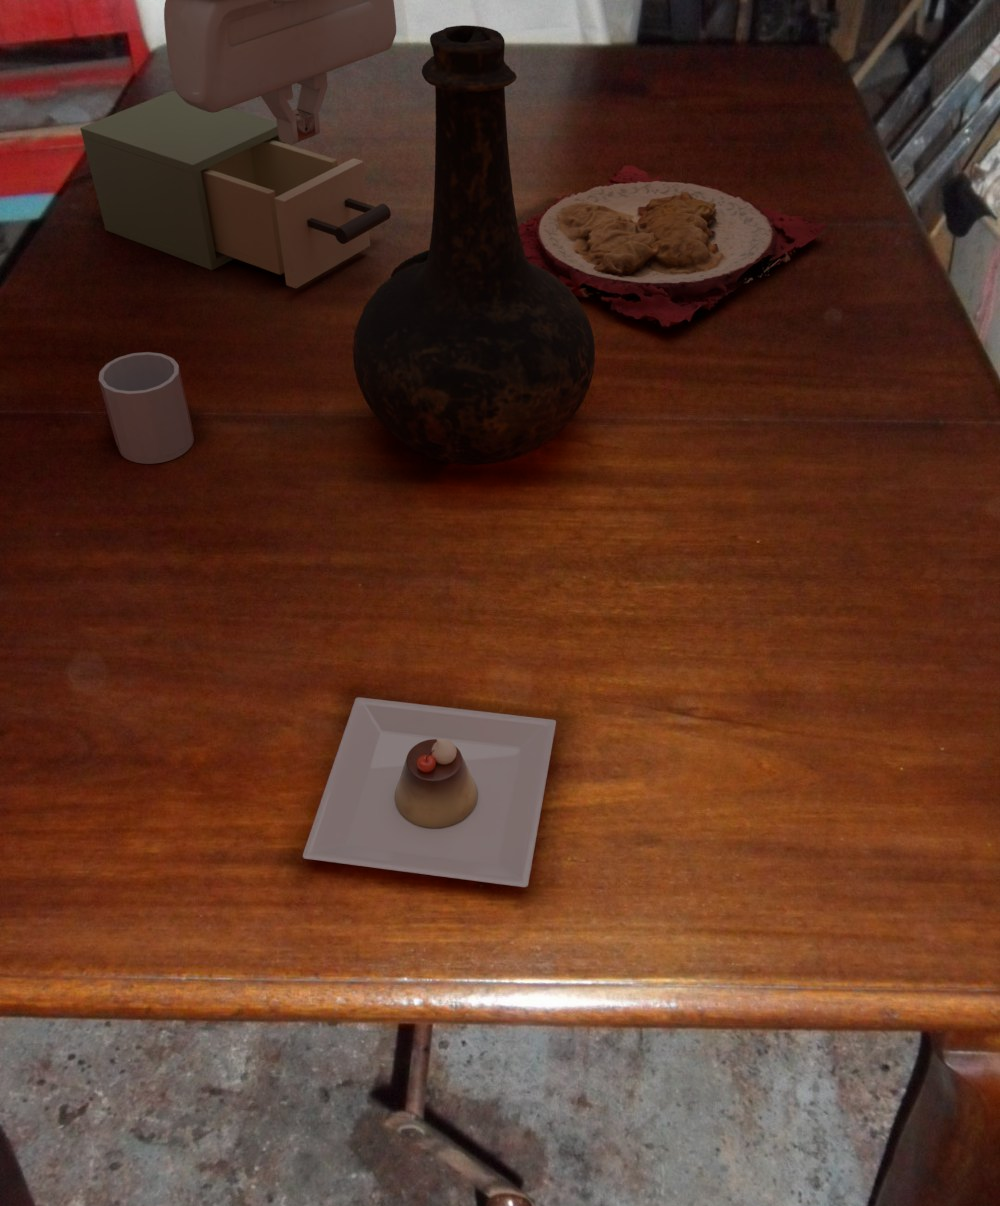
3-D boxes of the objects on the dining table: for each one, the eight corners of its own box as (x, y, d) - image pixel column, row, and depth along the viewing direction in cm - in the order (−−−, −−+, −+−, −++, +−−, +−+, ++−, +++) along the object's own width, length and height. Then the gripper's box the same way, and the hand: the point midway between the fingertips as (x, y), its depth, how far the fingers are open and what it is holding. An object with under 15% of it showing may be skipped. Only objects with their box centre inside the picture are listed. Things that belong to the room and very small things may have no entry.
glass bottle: (508, 349, 100) (509, -30, 80) (638, 449, 90) (677, 44, 70) (320, 412, 94) (269, 16, 73) (437, 528, 83) (415, 106, 63)
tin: (102, 447, 90) (82, 377, 86) (157, 414, 94) (141, 344, 89) (154, 472, 88) (136, 401, 84) (209, 437, 91) (195, 367, 87)
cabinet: (296, 226, 117) (283, 123, 110) (212, 270, 110) (192, 164, 103) (191, 189, 123) (172, 90, 116) (105, 230, 116) (79, 127, 109)
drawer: (409, 259, 110) (404, 173, 104) (335, 303, 104) (326, 215, 98) (265, 210, 117) (253, 127, 111) (188, 249, 111) (171, 164, 106)
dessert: (304, 870, 63) (292, 813, 60) (357, 709, 71) (350, 651, 68) (527, 899, 62) (528, 843, 58) (555, 732, 70) (558, 674, 67)
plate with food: (824, 244, 114) (832, 208, 112) (669, 339, 101) (674, 300, 98) (627, 180, 125) (629, 146, 123) (462, 257, 112) (462, 221, 109)
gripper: (350, -98, 92) (363, 93, 102) (137, -43, 81) (175, 165, 91) (410, -84, 89) (417, 111, 99) (197, -25, 78) (229, 188, 88)
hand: (299, 138), depth 95 cm, fingers closed
